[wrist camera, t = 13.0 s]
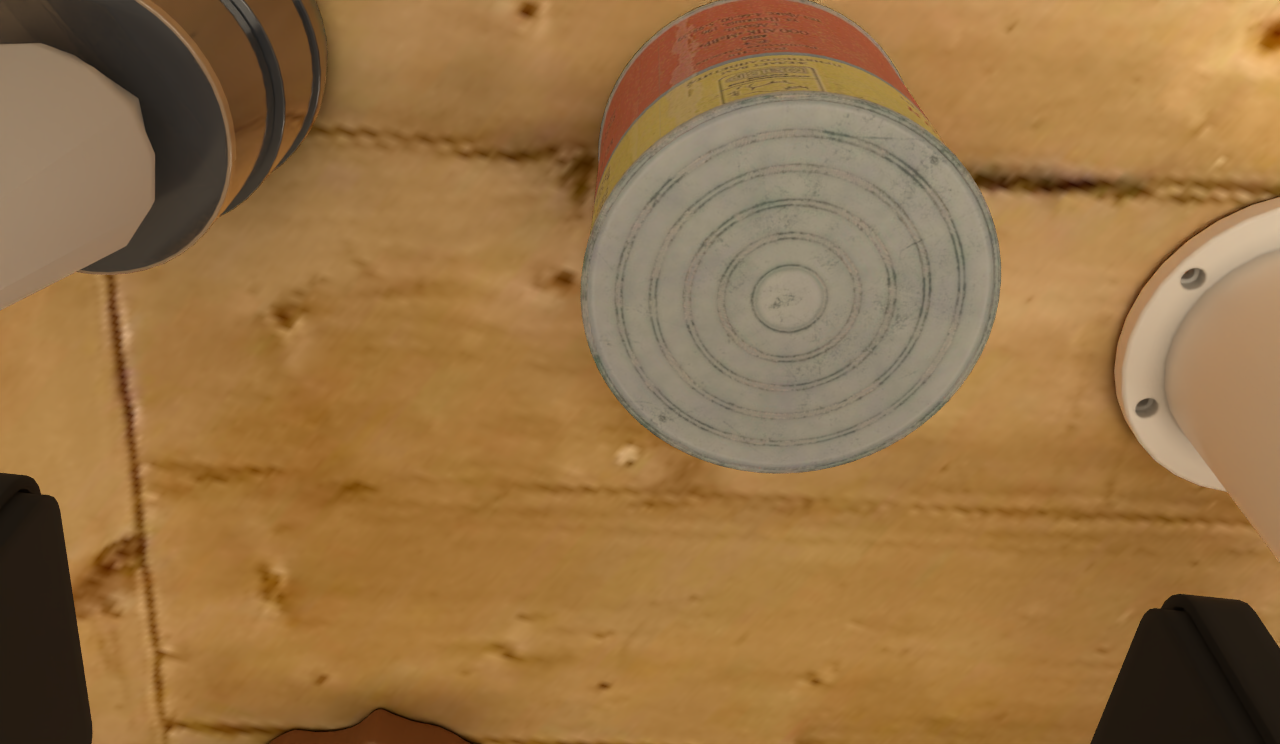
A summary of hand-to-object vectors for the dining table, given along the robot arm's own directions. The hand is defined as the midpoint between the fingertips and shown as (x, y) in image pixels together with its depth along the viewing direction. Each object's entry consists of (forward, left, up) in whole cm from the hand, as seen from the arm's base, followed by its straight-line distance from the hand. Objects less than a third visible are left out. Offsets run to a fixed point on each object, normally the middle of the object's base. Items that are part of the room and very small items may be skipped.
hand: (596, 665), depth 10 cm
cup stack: (+11, +11, -33) cm, 36 cm away
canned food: (-7, +3, -33) cm, 34 cm away
